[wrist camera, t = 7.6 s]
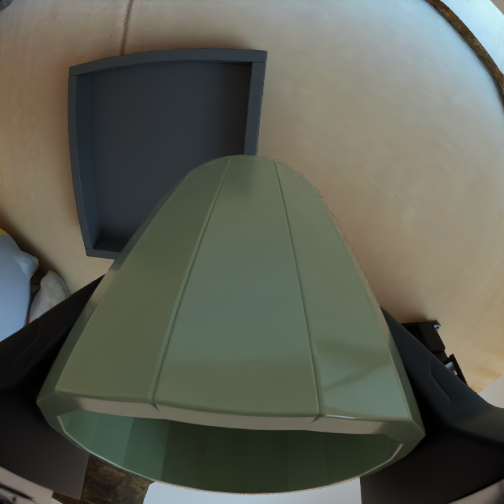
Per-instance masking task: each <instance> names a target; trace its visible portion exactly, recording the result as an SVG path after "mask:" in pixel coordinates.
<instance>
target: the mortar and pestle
mask: <svg viewBox="0 0 504 504" xmlns="http://www.w3.org/2000/svg"><path fill="white" fill-rule="evenodd" d="M12 1H13V0H0V11H1V10H3V9H4V8H6V7H7V6H9V5H10V3H11V2H12Z"/></svg>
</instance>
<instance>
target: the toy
mask: <svg viewBox="0 0 504 504" xmlns="http://www.w3.org/2000/svg"><path fill="white" fill-rule="evenodd" d="M38 268H39V260H38V259H37V258H36V257H35V256H33V255H30V254H28V253H26V252H23V251H21V250H20V248H19V247H18V245H17V244H16V242H15V241H14V240H13V239H12V237H11V236H10V235H9V234H8V233H6V232H5V231H4V230H2V229H1V228H0V341H2V340H4V339H5V338H7V337H8V336H10V335H12V334H13V333H15V332H17V331H18V330H20V329H21V328H23V327H24V326H25V325H26V323H27V320H28V317H29V313H30V307H31V303H32V302H33V300H34V297H35V296H36V294H37V292H38V291H39V290H40V288H41V286H40V284H39V283H31V282H30V278H31V277H32V275H33V274H34V273H35V272H36V271H37V269H38Z"/></svg>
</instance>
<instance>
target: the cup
mask: <svg viewBox="0 0 504 504" xmlns="http://www.w3.org/2000/svg"><path fill="white" fill-rule="evenodd" d="M37 405H38V407H39V409H40V411H41V412H42V414H43V416H44V418H45V419H46V421H47V423H48V424H49V425H50V426H51V427H52V428H54V429H55V430H56V431H57V432H58V433H60V434H61V435H62V436H63V437H65V438H66V439H67V440H68V441H70V442H71V443H72V444H74V445H75V446H76V447H78V448H79V449H81V450H83V451H85V452H86V453H88V454H90V455H92V456H94V457H96V458H98V459H99V460H101V461H103V462H105V463H107V464H109V465H111V466H114V467H116V468H118V469H121V470H124V471H126V472H129V473H132V474H134V475H137V476H140V477H143V478H146V479H149V480H152V481H157V482H159V483H163V484H168V485H172V486H176V487H181V488H186V489H192V490H197V491H204V492H212V493H223V494H237V495H268V494H285V493H295V492H302V491H309V490H315V489H319V488H325V487H330V486H334V485H338V484H342V483H345V482H348V481H352V480H355V479H358V478H361V477H364V476H367V475H369V474H372V473H375V472H377V471H379V470H381V469H383V468H385V467H387V466H389V465H391V464H392V463H394V462H396V461H398V460H400V459H401V458H403V457H405V456H406V455H408V454H409V453H410V452H411V451H412V450H413V449H414V448H415V447H416V445H417V444H418V443H419V442H420V441H421V440H422V439H423V437H424V436H425V429H424V425H423V422H422V419H421V415H420V412H419V409H418V406H417V403H416V400H415V396H414V393H413V390H412V388H411V385H410V382H409V379H408V376H407V373H406V371H405V368H404V365H403V362H402V360H401V357H400V355H399V352H398V349H397V347H396V344H395V342H394V339H393V337H392V334H391V332H390V330H389V327H388V325H387V323H386V320H385V318H384V316H383V313H382V311H381V309H380V306H379V304H378V302H377V300H376V298H375V295H374V293H373V291H372V289H371V287H370V285H369V282H368V280H367V278H366V276H365V274H364V272H363V270H362V268H361V266H360V264H359V262H358V260H357V258H356V256H355V254H354V252H353V250H352V248H351V246H350V244H349V242H348V240H347V239H346V237H345V235H344V233H343V231H342V229H341V227H340V225H339V224H338V222H337V220H336V218H335V216H334V215H333V213H332V211H331V210H330V208H329V207H328V205H327V204H326V203H325V201H324V200H323V198H322V196H321V195H320V193H319V191H318V190H317V189H316V188H315V187H314V185H313V184H312V183H311V182H310V181H309V180H308V179H306V178H305V177H304V176H303V175H302V174H301V173H299V172H298V171H296V170H294V169H293V168H291V167H289V166H287V165H285V164H283V163H281V162H279V161H276V160H272V159H269V158H266V157H260V156H254V155H234V156H225V157H221V158H217V159H213V160H211V161H208V162H206V163H203V164H201V165H199V166H198V167H196V168H194V169H192V170H191V171H189V172H188V173H187V174H186V175H184V176H183V177H182V178H181V179H180V180H179V181H178V182H177V183H176V184H175V185H174V186H173V187H172V188H171V189H170V190H169V191H168V192H167V193H166V194H165V195H164V196H163V197H162V199H161V200H160V201H159V202H158V204H157V205H156V206H155V207H154V209H153V210H152V211H151V212H150V214H149V215H148V216H147V217H146V219H145V220H144V221H143V223H142V224H141V225H140V227H139V228H138V229H137V231H136V232H135V233H134V235H133V236H132V237H131V239H130V240H129V241H128V243H127V244H126V246H125V247H124V248H123V250H122V251H121V253H120V254H119V255H118V257H117V258H116V260H115V261H114V263H113V264H112V266H111V267H110V268H109V270H108V271H107V273H106V274H105V276H104V277H103V279H102V280H101V282H100V284H99V285H98V287H97V288H96V290H95V291H94V293H93V294H92V296H91V298H90V299H89V301H88V303H87V304H86V306H85V307H84V309H83V311H82V312H81V314H80V316H79V317H78V319H77V321H76V323H75V324H74V326H73V328H72V330H71V331H70V333H69V335H68V337H67V339H66V340H65V342H64V344H63V346H62V348H61V350H60V352H59V354H58V356H57V357H56V359H55V361H54V363H53V365H52V367H51V369H50V371H49V374H48V376H47V378H46V380H45V382H44V384H43V386H42V388H41V391H40V393H39V395H38V397H37Z"/></svg>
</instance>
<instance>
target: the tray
mask: <svg viewBox="0 0 504 504" xmlns="http://www.w3.org/2000/svg"><path fill="white" fill-rule="evenodd" d="M266 59H267V51H260V50H248V49H228V48H192V49H172V50H160V51H150V52H142V53H134V54H127V55H121V56H115V57H110V58H105V59H100V60H96V61H91V62H87V63H83V64H79V65H75V66H71V67H70V68H69V80H68V132H69V149H70V161H71V170H72V179H73V187H74V194H75V200H76V206H77V212H78V218H79V223H80V228H81V233H82V237H83V242H84V246H85V250H86V254H87V256H91V257H98V258H106V259H114V260H116V258H117V257H118V255H119V254H120V253H121V251H122V250H123V248H124V247H125V246H126V244H127V243H128V241H129V240H130V239H131V237H132V236H133V235H134V233H135V232H136V231H137V229H138V228H139V227H140V225H141V224H142V223H143V221H144V220H145V219H146V217H147V216H148V215H149V214H150V212H151V211H152V210H153V209H154V207H155V206H156V205H157V204H158V202H159V201H160V200H161V199H162V197H163V196H164V195H165V194H166V193H167V192H168V191H169V190H170V189H171V188H172V187H173V186H174V185H175V184H176V183H177V182H178V181H179V180H180V179H181V178H182V177H183V176H184V175H186V174H187V173H188V172H189V171H191V170H192V169H194V168H196V167H198V166H199V165H201V164H203V163H206V162H208V161H211V160H213V159H217V158H221V157H225V156H234V155H254V156H256V152H257V142H258V133H259V123H260V114H261V105H262V95H263V86H264V77H265V68H266Z"/></svg>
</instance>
